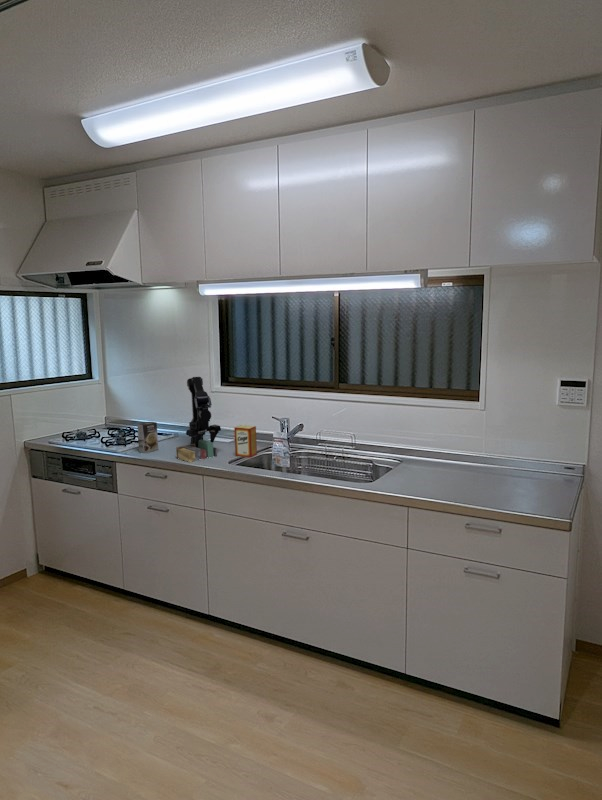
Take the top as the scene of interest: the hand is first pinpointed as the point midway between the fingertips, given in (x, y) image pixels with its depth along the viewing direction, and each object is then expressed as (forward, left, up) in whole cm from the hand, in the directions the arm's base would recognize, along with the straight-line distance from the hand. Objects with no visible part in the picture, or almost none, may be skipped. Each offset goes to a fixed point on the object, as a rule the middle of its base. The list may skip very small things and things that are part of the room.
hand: (204, 445), depth 302 cm
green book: (0, 0, -6) cm, 6 cm away
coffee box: (+15, -34, -6) cm, 38 cm away
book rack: (+5, 0, -6) cm, 8 cm away
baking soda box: (-16, +16, -6) cm, 23 cm away
